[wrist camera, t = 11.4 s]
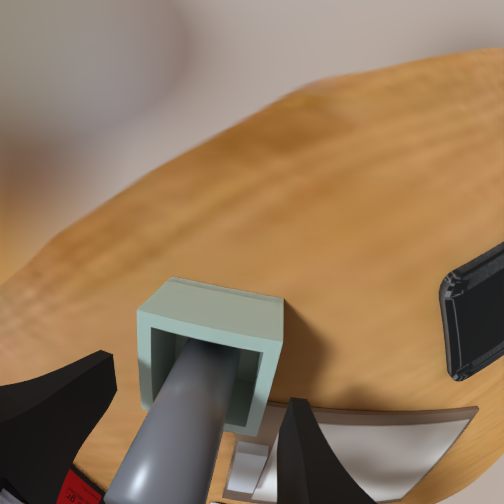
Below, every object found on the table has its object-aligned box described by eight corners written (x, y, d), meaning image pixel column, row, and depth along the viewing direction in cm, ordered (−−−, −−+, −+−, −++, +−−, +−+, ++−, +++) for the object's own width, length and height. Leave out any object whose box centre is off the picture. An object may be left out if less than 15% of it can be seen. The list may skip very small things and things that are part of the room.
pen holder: (262, 385, 16) (256, 436, 12) (167, 364, 16) (141, 408, 12) (283, 298, 14) (283, 342, 10) (171, 276, 14) (137, 309, 11)
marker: (239, 364, 15) (197, 543, 5) (191, 354, 15) (113, 516, 5) (246, 322, 14) (200, 518, 4) (194, 311, 14) (94, 482, 4)
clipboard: (399, 498, 19) (401, 508, 17) (222, 494, 20) (220, 505, 18) (477, 406, 15) (484, 416, 14) (245, 397, 16) (242, 413, 15)
